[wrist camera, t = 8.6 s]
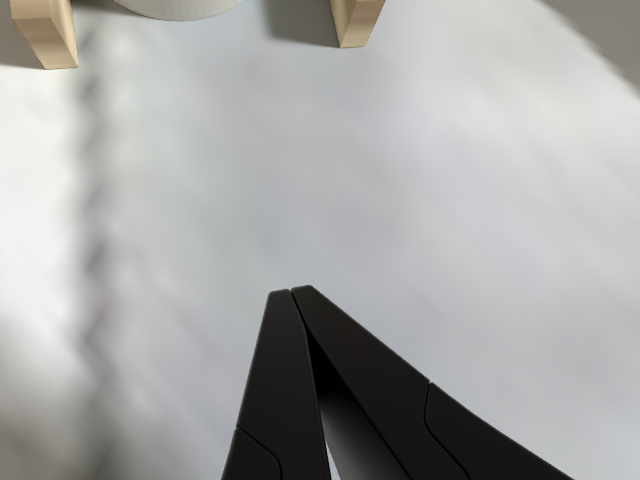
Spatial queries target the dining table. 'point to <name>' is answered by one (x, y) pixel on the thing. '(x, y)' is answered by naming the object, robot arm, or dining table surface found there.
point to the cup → (178, 8)
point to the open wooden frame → (59, 38)
